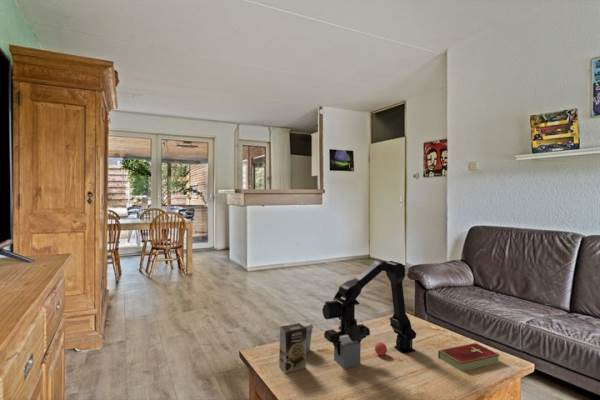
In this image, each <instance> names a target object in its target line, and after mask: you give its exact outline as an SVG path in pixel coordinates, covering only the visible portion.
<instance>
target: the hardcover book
mask: <svg viewBox="0 0 600 400" xmlns="http://www.w3.org/2000/svg"><path fill="white" fill-rule="evenodd" d="M437 351H438V353H437V356H438V359H440V360H442V361H443V362H445V363H447V364H448V365H449V366H450V365H451V366H452V367H453V368H455V369H456V370H458V371H460V372H464V371H467V370H473V369H476V368H479V367H480V368H481V367H484V366H488V365H494V364H498V363H499V356H500V353H498V352H495V351H493V350H491V349H489V348H487V347H485V346H483V345H481V344H479V343H476V342H473V343H470V344H469V343H468V344H464V345H460V346H455V347H449V348H444V349H439V350H437Z"/></svg>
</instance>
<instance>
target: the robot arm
mask: <svg viewBox="0 0 600 400" xmlns="http://www.w3.org/2000/svg"><path fill="white" fill-rule="evenodd" d="M382 272H385V274H386V277H387V279H388V280H389V282H390V288H391V295H392V297H391V298H392V305H393V306H392V307H393V315H392V316H389V320H390V321H389V322H390V324H389V326H390V327H391V329H392V330H393V332H394V333H395V334H396V338H395V345H394V346H393V348H395V349H396V350H398V351H400V352H401V353H402V354H407V353H411V352H412V353H413V352H415V351H416V349H415V348H413V340H414V339H416V337H417V332H416V331H415V330H414V329H413V328H412V324H411V320H410V318H409V317H408V315H407V311H406V304H405V296H404V295H405V294H404V285H403V282H404V279H405V277H406V266H405V265H404V264H403V263H400V262H397V261H394V260H388V261H383V260H379V259H376V260H374V261H373V262H372V264H371V265H368V267H367V268H366V269H365V270H363V271H362V272H360V273H359V275H357V276H356V277H355V278H353V279H350V280H347V281H345V282H344V283H342V284H340V286H339V287H338V290H337V292H336V294H335V296H334V297H333V300H332V301H331V300H330V301H329V300H328V301H327V300H325V302H324V304H323V306H322V308H321V309H322V315H323V318H324V319H325V320H333V319H338V320H340V326H338V330H339V331H336V330H335V329H334V328H333V329H332V328H331V329H328V330H325V331H324V332H323V338H324V339H326V340H327V341H328V342H329V343H332V344H333V348H334V347H335V350H336V352H337V355H338V356H340V343H341V341H340V340H339V339H340V338H341V337H347V336H349V337H350V339H351V340H352V341H353V342H355V341H358V342H360V343H361V341H362V340H363V339H365V338H367V337H368V336H371V332H370V331H371V330H370V328H369V327H368V326H366V325H364V324H363V323H361V324H358V322H357V319H356V318H355V315H356V307H355V306H357V305H360V302H359V300H357V298H358V297H359V296H360V295H361V292H362V289H363V288H364V287H365V286H367V285H368V284H369V283H370V282H371V281H373V280H374V279H375V278H376V277H377V276H378V275H380V273H382Z"/></svg>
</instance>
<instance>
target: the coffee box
mask: <svg viewBox="0 0 600 400" xmlns="http://www.w3.org/2000/svg"><path fill="white" fill-rule="evenodd" d="M306 333H307V328H306V327H305V326H303V325H301V324H300V323H297V324H295V323H293V324H287V325H283V326H279V357H278V358H279V360H278V361H279V362H278V367H279V368H280V369H281V370H282V372H284V373H285V374H289V373H293V372H298V371H300V370H304V369H307V353H306Z"/></svg>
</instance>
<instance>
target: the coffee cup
mask: <svg viewBox="0 0 600 400" xmlns="http://www.w3.org/2000/svg"><path fill="white" fill-rule="evenodd" d="M297 323H300V324H301V325H303V326H305V327H306V328H307V333H306V354H307V353H309V352H310V349H311V341H312V336H313V335H312V334H313V333H312V332H313V328H314V325H313V323H312V321H310V320H309V319H299V320H296V321H295V322H294V324H297Z"/></svg>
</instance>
